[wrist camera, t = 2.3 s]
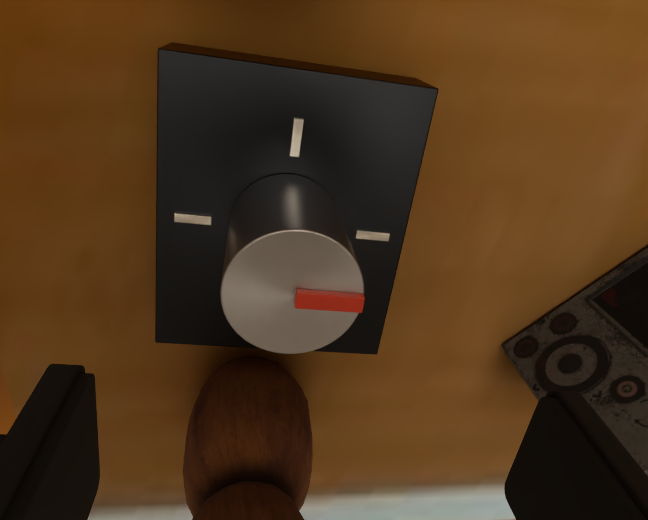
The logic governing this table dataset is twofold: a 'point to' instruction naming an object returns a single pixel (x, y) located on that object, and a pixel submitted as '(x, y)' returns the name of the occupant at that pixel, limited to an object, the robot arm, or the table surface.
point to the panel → (278, 158)
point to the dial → (289, 267)
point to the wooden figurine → (248, 445)
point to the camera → (597, 352)
